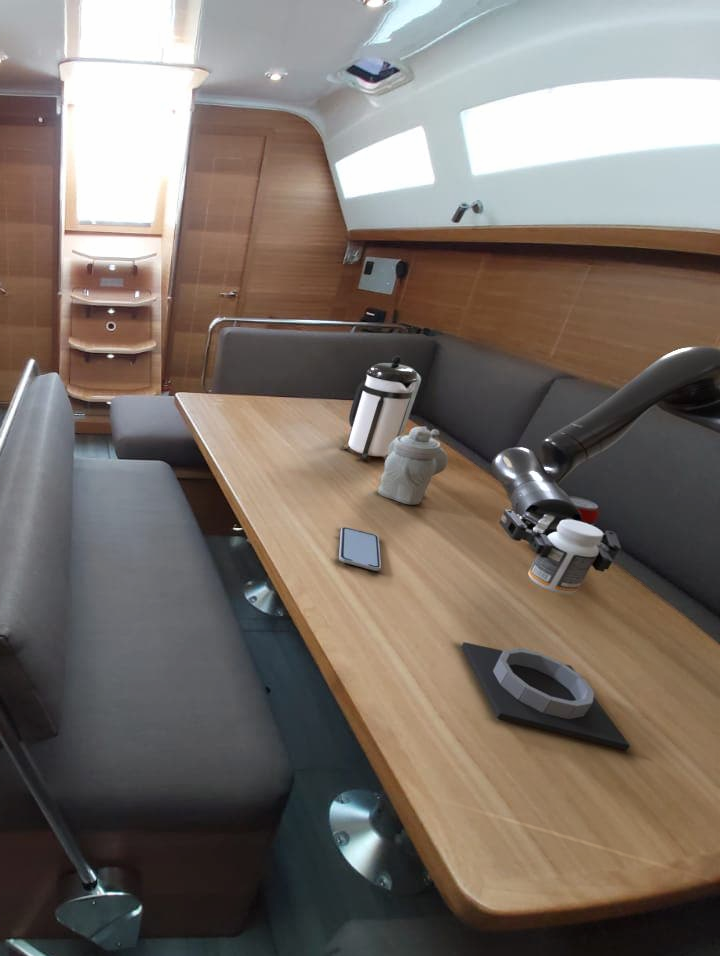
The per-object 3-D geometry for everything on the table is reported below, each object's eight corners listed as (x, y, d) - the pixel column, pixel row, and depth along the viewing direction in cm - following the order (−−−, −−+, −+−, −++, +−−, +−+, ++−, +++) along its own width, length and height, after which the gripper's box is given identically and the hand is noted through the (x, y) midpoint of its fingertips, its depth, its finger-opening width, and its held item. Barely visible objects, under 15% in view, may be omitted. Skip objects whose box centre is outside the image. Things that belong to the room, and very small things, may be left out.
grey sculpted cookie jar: (412, 480, 136) (435, 414, 128) (454, 506, 123) (484, 435, 115) (355, 480, 135) (376, 414, 126) (392, 507, 121) (418, 435, 113)
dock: (568, 670, 75) (578, 653, 74) (626, 750, 63) (641, 732, 61) (461, 646, 79) (469, 629, 77) (497, 718, 67) (507, 699, 65)
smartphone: (378, 535, 108) (381, 569, 95) (377, 538, 108) (379, 573, 96) (341, 525, 110) (339, 558, 98) (340, 529, 111) (338, 562, 99)
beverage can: (569, 564, 101) (598, 513, 96) (528, 549, 106) (554, 499, 101) (578, 554, 105) (606, 504, 100) (538, 539, 110) (563, 491, 104)
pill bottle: (571, 581, 76) (604, 525, 72) (578, 600, 72) (613, 543, 67) (524, 567, 79) (553, 513, 74) (528, 585, 74) (559, 529, 70)
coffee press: (401, 454, 154) (435, 356, 141) (387, 468, 143) (422, 364, 130) (343, 439, 164) (369, 347, 151) (325, 451, 154) (352, 353, 141)
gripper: (587, 540, 83) (628, 596, 69) (482, 517, 89) (501, 565, 75) (610, 500, 79) (657, 552, 66) (499, 479, 85) (522, 522, 72)
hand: (574, 558), depth 71 cm, fingers closed on pill bottle, 5 cm apart
